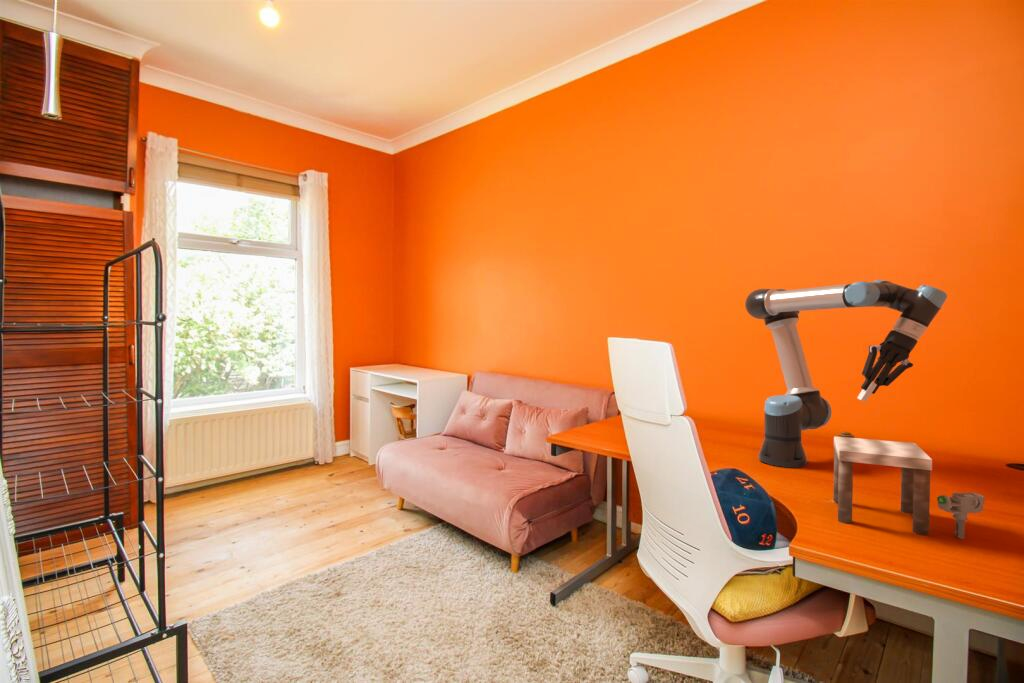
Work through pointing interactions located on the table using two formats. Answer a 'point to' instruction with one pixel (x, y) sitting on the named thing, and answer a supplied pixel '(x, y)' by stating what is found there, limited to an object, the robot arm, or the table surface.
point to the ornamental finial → (845, 435)
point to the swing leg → (836, 476)
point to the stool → (889, 454)
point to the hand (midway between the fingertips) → (861, 400)
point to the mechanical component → (961, 508)
